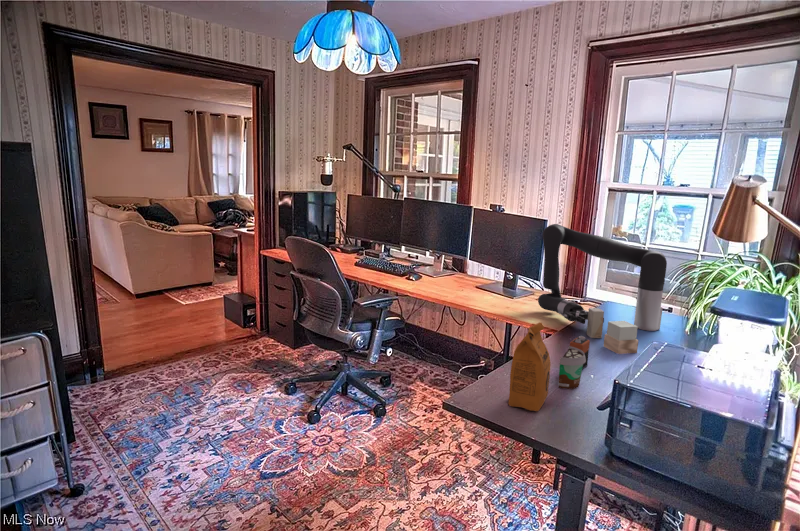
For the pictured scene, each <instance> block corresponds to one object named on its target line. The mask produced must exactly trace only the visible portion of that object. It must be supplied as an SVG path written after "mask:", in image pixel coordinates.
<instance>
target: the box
mask: <svg viewBox="0 0 800 531" xmlns="http://www.w3.org/2000/svg"><path fill="white" fill-rule="evenodd" d="M588 311H589V312H588V320H587V324H586V335H587V337H589V338H591V339H602V338H603V328H604V323H603V318H605V317H604V315H605V311H604V310H602V309H601V308H598V307H597V308H596V307H590V308H588Z"/></svg>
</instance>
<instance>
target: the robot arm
mask: <svg viewBox="0 0 800 531" xmlns="http://www.w3.org/2000/svg"><path fill="white" fill-rule="evenodd" d="M542 243H543V250H544V251H543V252H544V254H543V255H544V258H543V259H544V260H543V261H544V262H543V263H544V264H543V275H542V276H543V278H542V280H543V281H542V286H543V288H544V289H546V290H550V293H541V294H539V296H538V299H537V301H538V306H540V308H542V309H543V310H546V311H550V312H554V313H555V312H556V313H557V314H559V315H561V316H562V317H564V319H566V320H568V321H569V322H576V323H577V322H578V323H580V324H582V325H585V324H586V321H588V312H589V310H586V309H584V307H583V306H582V305H581V304H578V303H576V302H574V301H572V300H568V299H565V298H563V297H562V295H561V289H560V264H559V262H560V260H559V255H560V249H561V248H560V247H561V245H565V246H567V247H568V246H569V247H573V248H575V249H577V250H579V251H582V252H583V253H585V254H587V255H590V256H593V257H595V258H599V259H602V260H606V261H611V262H612V261H613V262H622V263H623V262H624V263H628V264H631V265H634V266H637V267H640V272H639V279H638V288H637V297H636V303H635V314H634V321H633V323H634V324H633V325H635V326H638V328H637V330H643V331H648V332H649V331H650V332H651V331H652V332H656V331H658V330H661V325H662V324H661V322H662V315H663V309H664V308H663V307H662V300H663V292H664V286H665V281H666V272H667V267H668V263H667V262H668V261H667V258H666V256H665V255H664V253H662V252H660V251H658V250H652V249H647V248H642V247H641V248H640V247H636V246H632V245H629V244H626V243H623V242H621V241H618V240H615V239H613V238H609V237H605V236H600V235H595V234H591V233H586V232H582V231H577V230H574V229H571V228H568V227H566V226H563V225H562V224H559V223H554V224H553V223H552V224H550V225H548V226H547V227H545V228H544V229H543V231H542ZM604 322H605V317H603V324H604Z"/></svg>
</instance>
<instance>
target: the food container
mask: <svg viewBox="0 0 800 531" xmlns="http://www.w3.org/2000/svg"><path fill="white" fill-rule="evenodd" d="M567 348H568V349H567V351H566V352H564V354H563V355H562V356H560V358H559V363H558V364H559V368H558V369H559V370H558V383H557V384H558V386H557V388H558V389H562V390H563V389H564V390H574V389H575V390H576V389H577V388H579V386H580V382H581V376H582V372H583V369H582V367H583V364H584V363H585V362H586V358H585V354H584V352H583V351H582V350H580V349H578V348H575V347H571V346H570V345H568V347H567Z"/></svg>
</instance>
